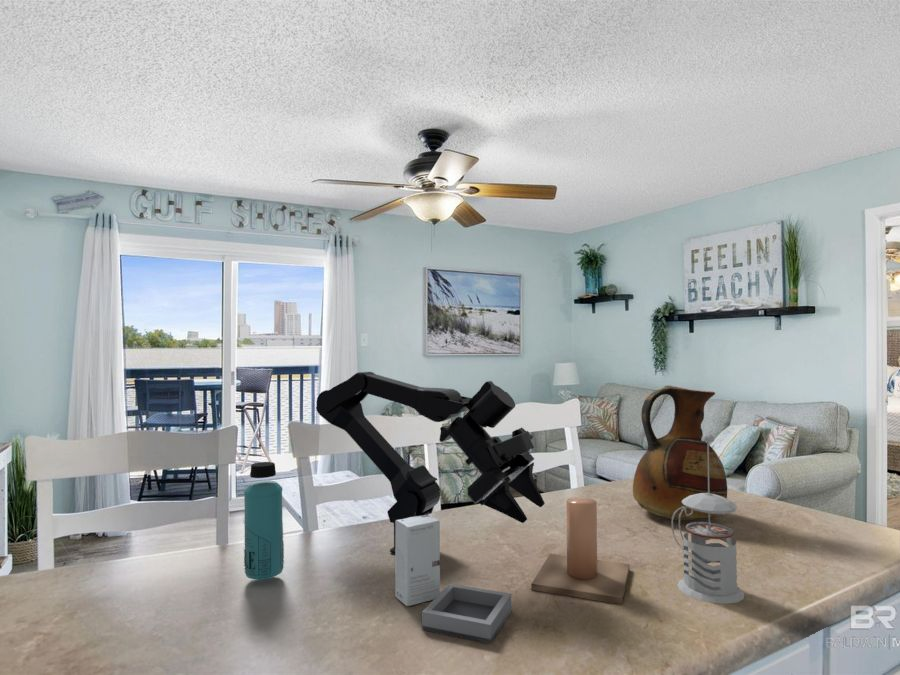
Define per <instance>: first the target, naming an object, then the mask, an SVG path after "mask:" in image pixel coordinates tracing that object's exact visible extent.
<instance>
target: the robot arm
mask: <svg viewBox="0 0 900 675" xmlns="http://www.w3.org/2000/svg"><path fill="white" fill-rule="evenodd" d="M368 395H371V396H374V397H378V398H380V399H383V400H388V401H391V402H393V403H394V402H395V403H397V404H401V405H404V406H407V407H409V408H412V409H414V410H415V411H416V413H418V414H419V415H421V416H423V417H424V418H426V419H428V420H430V421H432V422H435V423H441V422H445V421H448V420H449V421H450V420H452V419H453V420H452V421H451V422H450V424H449V425H444V426H441V427H440V434H439V440H438V441H439V442H440V443H444V442H446V441H449V440H451V439H452V440H453V442H454V443H455V444H456V445H457V447H458V448H459V449H460V450H461V452H462V453H463V454H464V455H465V456H466V460H464V462H465V463H466V464H467V465H468V466H470V465H473V466H474V468H475V469H476V470H477V471H478V472H479V473H480V475H479V476H478V478H476V479H475V480H474V481H473V482H472V483H471V484H470V485H469V486H468V487H467V497H469V499H470V500H471V502H473V504H474V505H475V504H478V503H479V505H480V506H485V507H488V508H490V509H493V510H495V511H497V512H499V513H501V514H503V515H504V516H507V517H509V518H512V519H513V520H516V521H518V522H519V523H521V524H524V523H525V522H526V521H527V520H528V518H527V515H526V514H525V513H524V511H523V509H522V507H521V506H520V505H519V503H518V502H517V500H516V498H515V497H514V496H513V494H512V493H511V491H510V488H511V489H513V490H514V491H516V492H518V494H520V495H521V496H523V497H524V498H525V499H527V500H529V501H530V502H532V503H533V504H534V505H536V506H537V507H539V508H541V507H543V506H545V500H544V499H543V497H542V494H541V492H540V491H539V488H538V486H537V484H536V481H535V479H534V476H533V471H534V466H535V463H534V462H533V461H534V460H535V458H534V456H533V455H532V454H531V453H530V452H529V451H530V450H532V449H535V447H534V444H533V441H532V440H533V439H534V438H533V437H534V436H533V435H532V434H531V433H530V432H529V431H528V430H526V429H524V428H523V427H520V428H518V429H515V430H513V431H512V432H511V433H512V434H511V437H510V438H509V437H508V438H507V439H504V440H501V438H500V437H498V436H493V437H492V436H491V435H490V434H489V433H488V431H486V428H487V427H488V428H492V429H493V428H496V426H497V425H499V423H500V422H501V421H502V420H504V419H505V417H507V415H508V414H510V412H512V411H513V409H515V407H516V403H515V401H514V399H513V397H512V396H511V394H509V392H507V391H505V390H504V389H502V388H501V387H500V386H498V385H496V384H494V383H493V381H492V380H489V381H487V380H486V381H485V382H484V383H483V384H482V385H481V387H480V388H479V390H478V391H477V392H476V393H475V394H474V395H473V396H472V397H468V396H464V395H461V393H460V392H459V391H457V390H456V389H453V388H444V387H423V386H419V385H415V384H411V383H407V382H404V381H400V380H397V379H395V378H390V377H387V376H383V375H379V374H376V373H374V372H373V371H359V372H356V373H355V374H353V375H352V376H351V377H350V378H347V379H346V380H345V381H343V382H341V383H339V384H337V385H335V386H333V387H331V388H330V389H327V390H323V391H321V392H320V393H319V394H318V396H317V399H316V407H315V409H316V411H317V413H318V415H319V416H320V417H321V418H323V419H324V420H325V421H326V422H327V423H329V424H330V425H332V426H335V427H336V428H339V429H340V430H343V431H344V432H346V433H347V434H348V436H349V437H350V438H351V439H352V440H353V441H354V443H355V444H357V446H358V447H359V448H360V449H361V450H362V452H364V454H365V455H366V456H367V458H369V460H370V461H371V462H372V463H373V464H374V465H375V466H376V467H377V468H378V470H379V471H380V472H381V473H382V475H384V477H385V478H387V479H388V481H389V483H390V486H391V491H392V495H393V497H394V499H395V501H396V502H395V503H394V504H393V505H392V506H391V507H390V508H389V509H388V510H387V515H388V516H387V517H388V519H389V522H390V523H392V524H393V547H391V548H390V549H389V553H390V554H391V553H392V554H395V521H396V520H400V519H405V518H409V517H416V516H423V515H428V516H429V515H430V514H432V513H433V512H434V508H435V506H437V504H438V503H439V501H440V499H441V488H440V485H439V484H438V483H437V480H438V478H437V477H435V476H434V475H432V474H431V472H430V471H429V470H428V468H427V467H426V466H425V465H423V464H422V465H419V466H417V467H415V466H411V465H410V464H409V463H407V461H406V460H405V459H404V458H403V457H402V456H401V455H400V454H399V453H398V452H397V450H396V449H395V448H394V447H393V446H392V445H391V444H390V443H389V441H388V440H387V439H385V437H384V436H383V435H382V434H381V433H380V432H379V430H377V428H376V427H375V426H374V425H373V424H372V423H371V422H370V421H369V420H368V418H367V417H366V416H365V414H364V411H363V405H362V401H363V400H365V399H366V398H367V396H368ZM465 412H467V413H465ZM461 413H465V414H464V416H463V417H462V416H460V415H461ZM482 499H483V500H482ZM480 501H481V502H480Z"/></svg>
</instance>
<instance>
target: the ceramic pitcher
mask: <svg viewBox="0 0 900 675" xmlns="http://www.w3.org/2000/svg"><path fill="white" fill-rule="evenodd" d="M715 394H716V392H714V391H707V390H695V389H688V388H682V387H678V386H673V385H671V384H670V385H664V386H663V387H661V388H659V389H656V390H654V391H652V392H651V393H650V394H649V395H648V396H646V398H645V399H644V402H643V404H642V408H641V422H642V427H643V431H644V435H645V438H646V439H645V440H646V442H647V449H646V451H645V453H644V454H643V455H642V456H641V458H640V460H639V462H638V464H637V465H636V466H637V467H636V469H635V472H634V476H633V482H632V496H633V498H634V500H635V501H636V502H637V504H638V506H640V508H641V509H643V510H645V511H648V512H649V513H650V514H654V515H656V516H659V517H662V518H666V519H670V520H672V516H673V514H674V512H675V511H676V510H677V509H678V508H681V507H686V506H685V505H684V504H683V503H682V500H683V499H685V498H686V497H688V496H690V495H694V494H699V493H708V456H707V442H705V441H701V439H702V436H703V435H704V434H703V433H704V432H703V429H702V423H703V421H704V419H705V406H706V404H707V402H708V401H709V400H710V399H711V398H712V397H714V396H715ZM664 395H668V396H670V397H671V398H672V400H673V404H674V417H673V422H672V425H671V427H670V429H669V431H668V433H667V434H666V435H663V436H661V437H658V438H657V437H656V435H655V433H654V430H653V427H652V422H651V412H652V408H653V405H654V403H655V401H656V400H657V399H658V398H659V397H660V396H664ZM709 491H710V493H711V494H716V495H719V496H722V497H724V498H726V499H728V482H727V475H726V471H725V467H724V464H723V463H722V460H721V459H720V457H719V455H718V454H717V452H716V451H715V449H714V448H713V447H712V446H711V445H710V444H709ZM682 509H684V508H682ZM682 509H679V510H678V511H677V512H676V514H675V516H674V519H673V521H679V515H680V513H681V511H682ZM691 511H692V509H689V508H686V513H687V514H690V513H691ZM718 515H720V514H711V513H710V518H712V517H716V516H718ZM700 518H701V519H703V518H705V519H706V518H708V513H705V512H700V511H695V510H693V514H691V515H689V516H687V515H685V510H683V512H682V514H681V517H680V521H690V520H693V521H694V520H697V519H700Z"/></svg>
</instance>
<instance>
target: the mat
mask: <svg viewBox="0 0 900 675" xmlns="http://www.w3.org/2000/svg"><path fill="white" fill-rule="evenodd" d="M629 574H630V563H624V562H616V561H607V560H603V559H602V560H600V559H597V576H596V577H594V578H591V579H580V578H575V577H572V576H570V575H569V574H568V573H567V555H565V554H555V553H549V555H548V556H547V558H546V559H545V561H544V562H543V564H542V566H541V568H540V569H539V571H538V572H537V574H536V576H535V577H534V579H533V581H532V582H531V591H537V592H543V593H549V594H553V595H554V594H555V595H562V596H568V597H574V598H580V599H587V600H593V601H599V602H603V603H604V602H606V603H610V604H611V603H612V604H618V605H622V604H623V601H624V596H625V592H626V587H627V583H628V578H629Z"/></svg>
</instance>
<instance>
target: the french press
mask: <svg viewBox="0 0 900 675" xmlns="http://www.w3.org/2000/svg"><path fill="white" fill-rule="evenodd" d="M701 441H705V442H707V456H708V493H699V494H694V495H690V496H688V497H686V498H685V499H683V500H682V503H683V504H684V505H685V506H686V507H681V508H678V509H677V510H676V511H675V512H674V514H673V516H672V519H671V532H672V535H673V538H674V541H675V543H676V544H677V545H678V547H679V548H680V549H681V550H682V551H683V578H682V579H680V580H679V581H678V583H677V588H678V589H679V590H680V592H681V593H683V594H685V595H686V596H688V597H691V598H693V599H696V600H698V601H702V602H706V603H710V604H711V603H712V604H721V605H722V604H723V605H724V604H725V605H726V604H727V605H729V604H730V605H731V604H736V603H739V602H741V601H742V600H744V599H745V592H744V591H742V590H741V588H740V587H739V586H738V582H737V580H738V574H737V573H738V567H737V562H738V561H737V540H736V539H735V538H734V537H733V536H734V535H735V531H734V530H733V529H732V528H730V527H729V526H725V525H723V524H718V523H713V522H711V517H710V513H711V514H719V515H725V514H732V513H735V512H736V511H737V509H738V505H736V504H735V503H734V502H732V501H731V500H729V499H728V498H727V499H726V498H724V497H722V496H719V495H716V494H711V493H710V491H709V445H710V444H709V443H711V442H712V443H714V442H715V437H714V436H713V435H712V434H711V433H704V434H703V436H702V439H701ZM682 508H684V509H682ZM686 508H689V509H692V511H691V513H690V514H687V513H686ZM679 509H682V511H681V513H680V515H679V520H678V531H679V534H680V537H681V540H682V542H683V545H682V546H683V547H682V546H681V544H680V543H679V542H678V539H677V538H676V535H675V529H674V520H673V519H674V516H675V514H676V512H677V511H678V510H679ZM683 510H685V515H687V516H689V515H691V514H693V510H695V511H700V512H705V513H708V517H707V518H708V522H707V521H705V522H704V521H694V522H689V523H687V524H686V525H685V526H684V527H685V530H686V531H687V532H685V533H684V534H682V529H681V520H680V517H681V514H682V512H683ZM689 534H690V536H691V537H690V538H691V541H690V540H689ZM709 540H719V541H722V542H724V543H726V544H727V545H728V546H727V545H725V544H722V543H720V542H709V543H706V542H707V541H709ZM689 549H690V550H691V551H689ZM689 557H690V559H691V560H690V559H689ZM712 563H717V564H718V563H719V564H718V565H710V564H712ZM690 566H691V568H690Z"/></svg>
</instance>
